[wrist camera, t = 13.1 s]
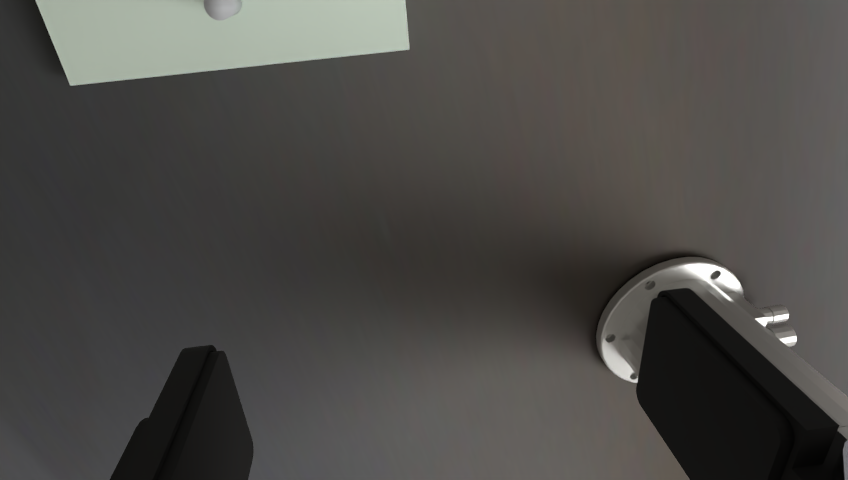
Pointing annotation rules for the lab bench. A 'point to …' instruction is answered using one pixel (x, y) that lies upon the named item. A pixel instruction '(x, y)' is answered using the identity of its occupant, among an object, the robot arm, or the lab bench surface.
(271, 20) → the pin plate
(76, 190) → the lab bench surface
